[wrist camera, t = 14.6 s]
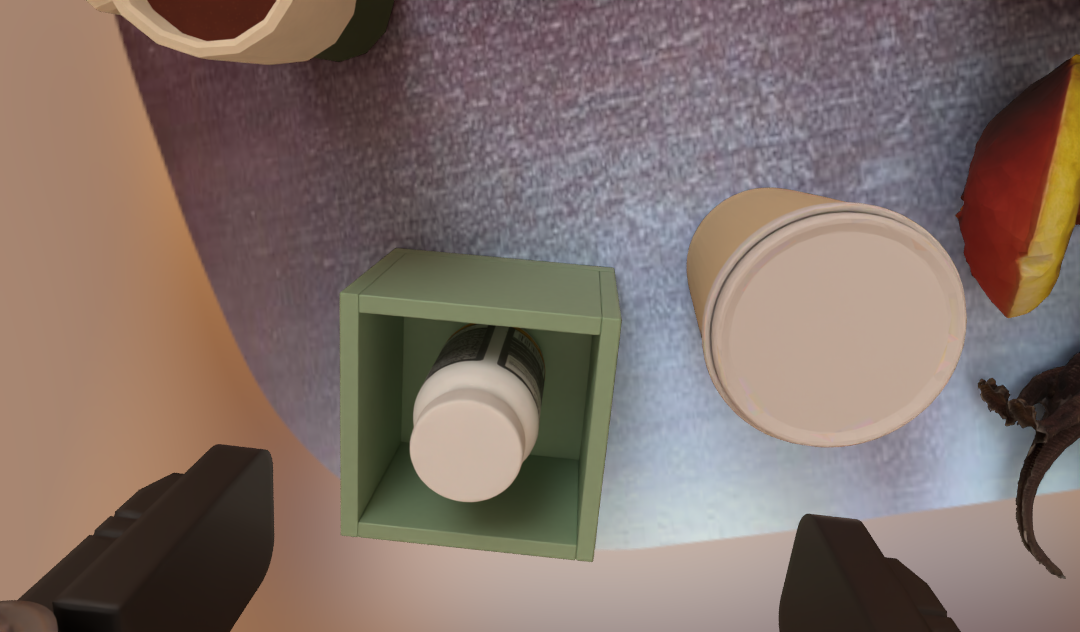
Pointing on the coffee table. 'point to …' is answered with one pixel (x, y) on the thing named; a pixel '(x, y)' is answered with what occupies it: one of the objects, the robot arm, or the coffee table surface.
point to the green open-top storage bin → (405, 361)
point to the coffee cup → (823, 315)
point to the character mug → (258, 27)
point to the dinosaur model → (1039, 435)
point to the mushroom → (1025, 193)
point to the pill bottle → (478, 412)
